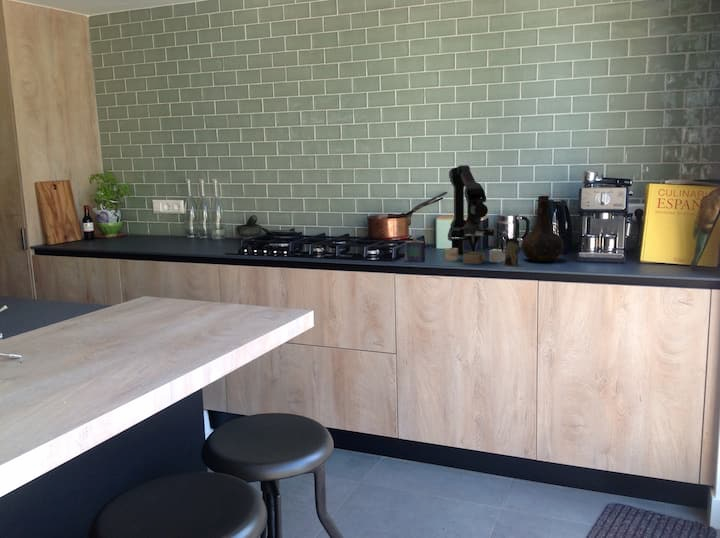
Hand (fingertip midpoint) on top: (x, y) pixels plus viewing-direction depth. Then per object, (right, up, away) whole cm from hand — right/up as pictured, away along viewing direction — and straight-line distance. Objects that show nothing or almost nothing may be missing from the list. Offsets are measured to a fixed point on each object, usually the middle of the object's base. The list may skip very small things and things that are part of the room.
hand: (473, 251), depth 291 cm
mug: (+13, -6, -9) cm, 17 cm away
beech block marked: (-9, -4, +8) cm, 12 cm away
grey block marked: (+10, -4, +1) cm, 11 cm away
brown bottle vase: (+30, -4, 0) cm, 30 cm away
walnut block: (0, -5, +1) cm, 5 cm away
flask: (-25, -5, +6) cm, 26 cm away
